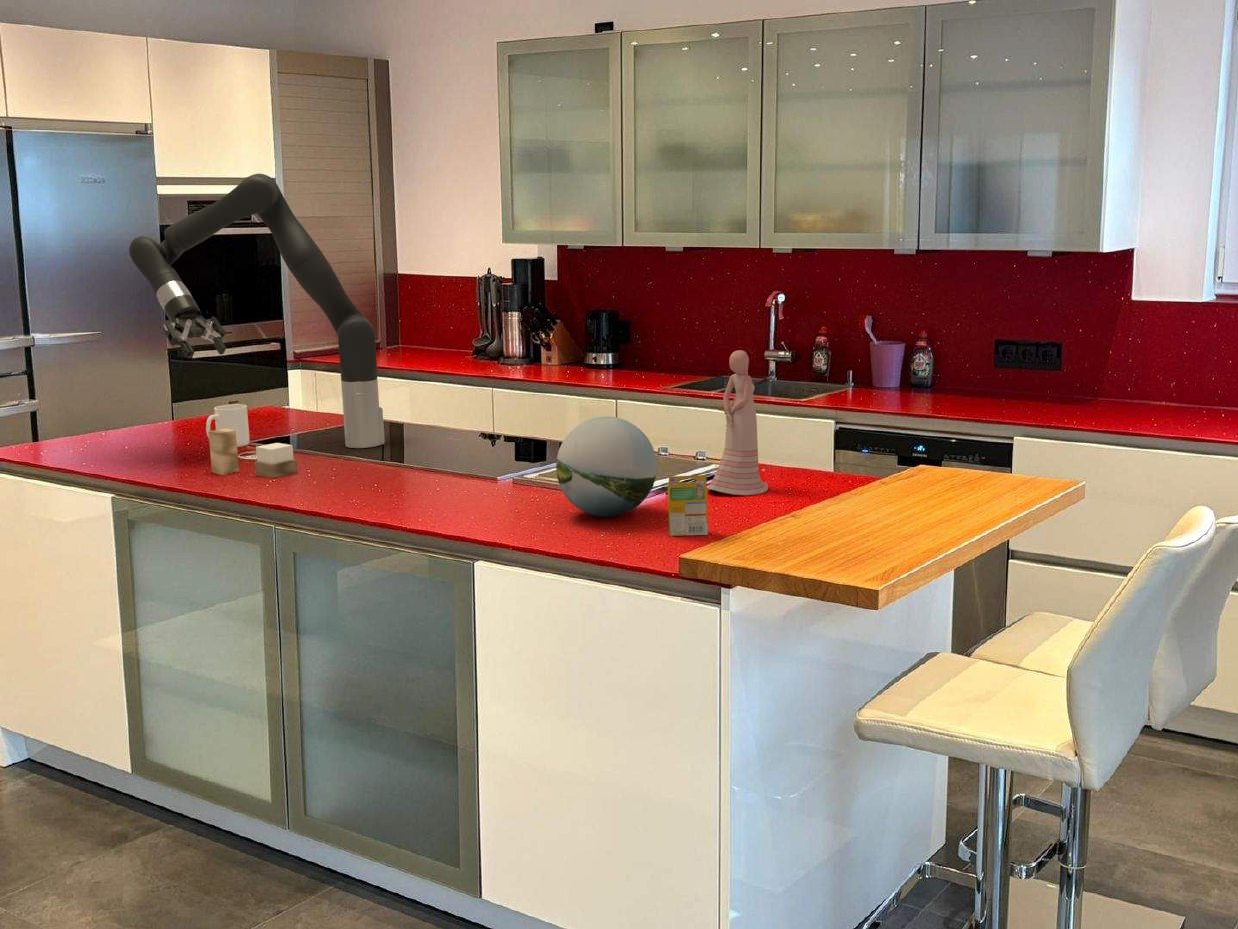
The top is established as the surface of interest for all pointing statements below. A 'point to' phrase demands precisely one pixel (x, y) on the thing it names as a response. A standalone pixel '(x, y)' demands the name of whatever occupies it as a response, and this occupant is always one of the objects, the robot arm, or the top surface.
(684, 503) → the crayon box
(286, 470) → the slab base
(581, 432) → the decorative sphere
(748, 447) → the figurine
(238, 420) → the cup
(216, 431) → the pillar
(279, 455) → the slab top
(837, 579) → the top surface
